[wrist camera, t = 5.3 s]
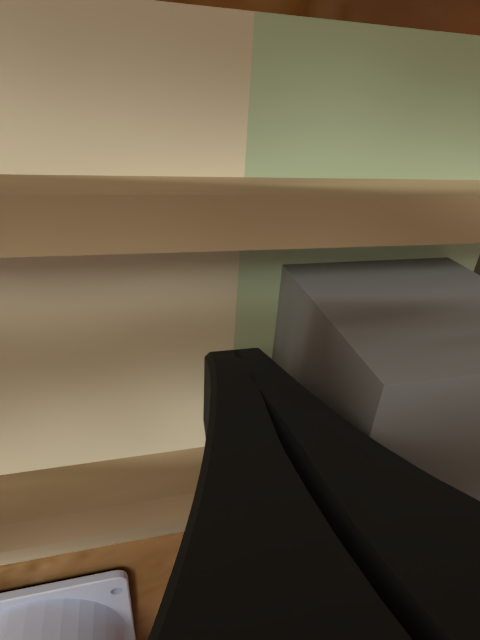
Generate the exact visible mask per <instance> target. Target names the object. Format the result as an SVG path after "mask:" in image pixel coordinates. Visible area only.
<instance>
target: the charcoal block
mask: <svg viewBox="0 0 480 640" xmlns="http://www.w3.org/2000/svg"><path fill="white" fill-rule="evenodd" d="M272 360H273V361H274V362H276V363H277V364H278V365H279V366H280V367H281V368H282V369H284V370H285V371H286V372H287V373H288V374H289V375H291V376H292V377H293V378H294V379H295V380H296V381H298V382H299V383H300V384H301V385H302V386H303V387H305V388H306V389H307V390H308V391H309V392H311V393H312V394H313V395H314V396H316V397H317V398H318V399H319V400H321V401H322V402H323V403H324V404H326V405H327V406H328V407H330V408H331V409H332V410H333V411H335V412H336V413H337V414H339V415H340V416H341V417H343V418H344V419H345V420H347V421H348V422H350V423H351V424H352V425H354V426H355V427H357V428H358V429H359V430H361V431H362V432H363V433H365V434H366V435H368V436H369V437H371V438H372V439H374V440H375V441H377V442H378V443H380V444H381V445H383V446H384V447H386V448H387V449H389V450H391V451H392V452H394V453H396V454H397V455H399V456H400V457H402V458H404V459H405V460H407V461H408V462H410V463H412V464H413V465H415V466H417V467H418V468H420V469H422V470H423V471H425V472H427V473H429V474H430V475H432V476H434V477H436V478H437V479H439V480H441V481H443V482H445V483H447V484H449V485H450V486H452V487H454V488H456V489H458V490H460V491H462V492H464V493H466V494H467V495H469V496H471V497H473V498H475V499H477V500H479V501H480V275H478V274H477V273H475V272H473V271H471V270H470V269H468V268H466V267H464V266H463V265H461V264H459V263H457V262H456V261H454V260H452V259H450V258H448V257H443V258H420V259H398V260H375V261H352V262H329V263H306V264H284V265H282V274H281V282H280V291H279V300H278V309H277V318H276V327H275V336H274V344H273V353H272Z"/></svg>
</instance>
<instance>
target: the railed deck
mask: <svg viewBox="0 0 480 640" xmlns="http://www.w3.org/2000/svg"><path fill="white" fill-rule="evenodd" d="M443 257H448V258H450V259H452V260H454V261H456V262H457V263H459V264H461V265H463V266H464V267H466V268H468V269H470V270H471V271H473V272H475V273H477V274H478V275H480V36H477V35H468V34H459V33H450V32H440V31H431V30H422V29H413V28H403V27H394V26H385V25H376V24H366V23H357V22H348V21H339V20H330V19H320V18H311V17H302V16H293V15H283V14H274V13H265V12H256V11H246V10H237V9H228V8H219V7H209V6H200V5H191V4H182V3H172V2H163V1H154V0H0V565H6V564H11V563H16V562H22V561H27V560H33V559H38V558H43V557H49V556H54V555H60V554H65V553H70V552H76V551H81V550H86V549H92V548H97V547H103V546H108V545H113V544H119V543H124V542H130V541H135V540H140V539H146V538H151V537H157V536H162V535H167V534H173V533H178V532H183V531H185V528H186V524H187V521H188V517H189V514H190V510H191V507H192V503H193V499H194V495H195V491H196V487H197V482H198V478H199V474H200V469H201V464H202V459H203V454H204V448H205V441H206V436H205V428H204V421H203V411H204V358H205V356H206V355H207V354H208V353H209V352H214V351H225V350H236V349H247V348H259V349H261V350H262V351H263V352H264V353H265V354H266V355H268V356H269V357H270V358H271V359H272V353H273V344H274V336H275V327H276V318H277V309H278V300H279V291H280V282H281V274H282V265H284V264H306V263H329V262H352V261H375V260H398V259H420V258H443Z"/></svg>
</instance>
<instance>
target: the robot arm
mask: <svg viewBox="0 0 480 640" xmlns="http://www.w3.org/2000/svg"><path fill="white" fill-rule="evenodd" d="M203 421H204V428H205V436H206V441H205V448H204V454H203V459H202V464H201V469H200V474H199V478H198V482H197V487H196V491H195V495H194V499H193V503H192V507H191V510H190V514H189V517H188V521H187V524H186V528H185V531H184V535H183V539H182V542H181V545H180V548H179V552H178V555H177V558H176V561H175V564H174V567H173V570H172V573H171V576H170V579H169V581H168V584H167V587H166V590H165V593H164V596H163V599H162V602H161V604H160V607H159V610H158V613H157V616H156V619H155V622H154V625H153V627H152V630H151V633H150V635H149V638H148V640H480V501H479V500H477V499H475V498H473V497H471V496H469V495H467V494H466V493H464V492H462V491H460V490H458V489H456V488H454V487H452V486H450V485H449V484H447V483H445V482H443V481H441V480H439V479H437V478H436V477H434V476H432V475H430V474H429V473H427V472H425V471H423V470H422V469H420V468H418V467H417V466H415V465H413V464H412V463H410V462H408V461H407V460H405V459H404V458H402V457H400V456H399V455H397V454H396V453H394V452H392V451H391V450H389V449H387V448H386V447H384V446H383V445H381V444H380V443H378V442H377V441H375V440H374V439H372V438H371V437H369V436H368V435H366V434H365V433H363V432H362V431H361V430H359V429H358V428H357V427H355V426H354V425H352V424H351V423H350V422H348V421H347V420H345V419H344V418H343V417H341V416H340V415H339V414H337V413H336V412H335V411H333V410H332V409H331V408H330V407H328V406H327V405H326V404H324V403H323V402H322V401H321V400H319V399H318V398H317V397H316V396H314V395H313V394H312V393H311V392H309V391H308V390H307V389H306V388H305V387H303V386H302V385H301V384H300V383H299V382H298V381H296V380H295V379H294V378H293V377H292V376H291V375H289V374H288V373H287V372H286V371H285V370H284V369H282V368H281V367H280V366H279V365H278V364H277V363H276V362H274V361H273V360H272V359H271V358H270V357H269V356H268V355H266V354H265V353H264V352H263V351H262V350H261V349H259V348H247V349H236V350H225V351H214V352H209V353H208V354H207V355H206V356H205V358H204V411H203ZM0 640H136V637H135V630H134V622H133V614H132V606H131V598H130V590H129V582H128V575H127V573H126V572H125V571H123V570H113V571H108V572H103V573H98V574H93V575H88V576H83V577H78V578H73V579H68V580H63V581H58V582H53V583H48V584H43V585H38V586H33V587H28V588H23V589H18V590H13V591H8V592H3V593H0Z"/></svg>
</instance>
